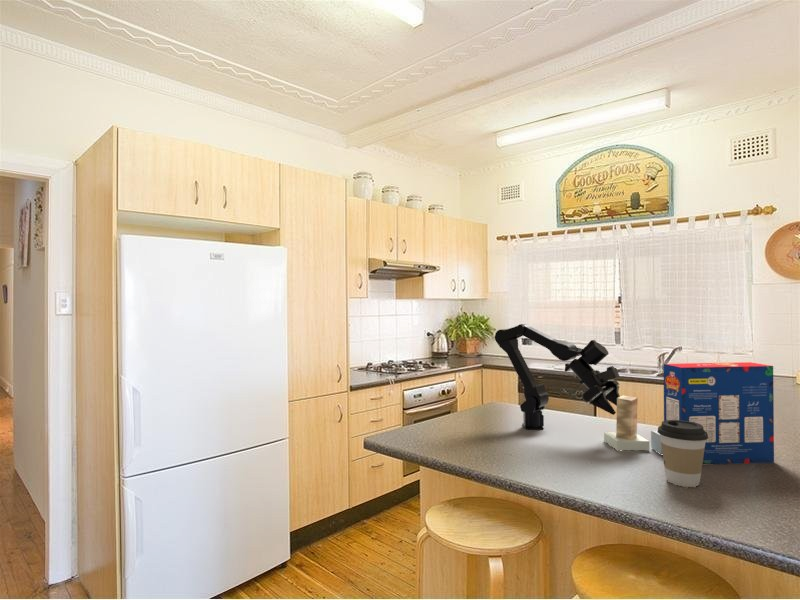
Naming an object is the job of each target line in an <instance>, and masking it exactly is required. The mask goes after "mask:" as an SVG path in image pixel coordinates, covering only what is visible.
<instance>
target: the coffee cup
mask: <svg viewBox="0 0 800 600" xmlns="http://www.w3.org/2000/svg"><path fill="white" fill-rule="evenodd" d="M656 431H657V432H658V433H659V434H660V439H661V446H662V453H663V456H662V459H663V465H664V466H663V467H664V472H665V477H666V481H667V480H668V481H669V482H670V483H669V482H668V481H667V482H668V483H669V484H671V483H673V484H672V485H674V484H676V485H675V486H677V485H678V486H677V487H680V486H683V487H682V488H688V487H694V488H697V487H696V486H698V485H699V486H700V483H701V477H702V471H703V470H702V469H703V465H702V464H703V456H704V449H705V442H706V440H707V439H708V434H707V432H706V431H704V428H703V426H702V425H700V424H698V423H694V422H690V421H683V420H665V421H664V420H662V421H661V425H659V426H657V430H656ZM699 486H698V487H699Z"/></svg>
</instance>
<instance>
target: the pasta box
mask: <svg viewBox="0 0 800 600" xmlns="http://www.w3.org/2000/svg"><path fill="white" fill-rule="evenodd" d="M774 398H775V397H774V366H773V365H770V364H763V363H757V362H756V363H755V362H751V361H750V362H749V361H748V362H746V361H745V362H744V361H743V362H742V361H741V362H698V363H697V362H695V363H694V362H693V363H689V362H688V363H685V362H684V363H680V362H679V363H663V421H665V420H683V421H690V422H694V423H698V424H700V425H702V426H703V428H704V431H706V432H707V434H708V439H707V440H706V442H705V449H704V456H703V464H713V465H735V464H738V465H739V464H760V463H761V464H762V463H765V464H766V463H767V464H768V463H775V430H774V429H775V425H774V424H775V421H774V420H775V418H774V417H775V413H774V410H775V408H774V407H775V406H774V402H775V401H774Z"/></svg>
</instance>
